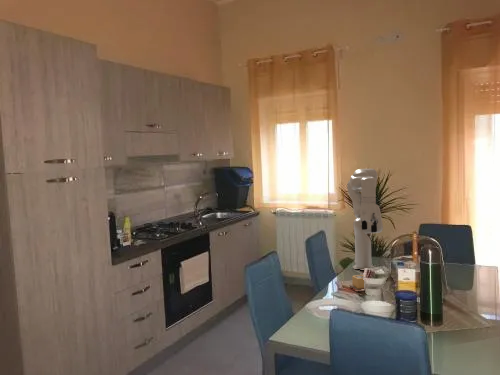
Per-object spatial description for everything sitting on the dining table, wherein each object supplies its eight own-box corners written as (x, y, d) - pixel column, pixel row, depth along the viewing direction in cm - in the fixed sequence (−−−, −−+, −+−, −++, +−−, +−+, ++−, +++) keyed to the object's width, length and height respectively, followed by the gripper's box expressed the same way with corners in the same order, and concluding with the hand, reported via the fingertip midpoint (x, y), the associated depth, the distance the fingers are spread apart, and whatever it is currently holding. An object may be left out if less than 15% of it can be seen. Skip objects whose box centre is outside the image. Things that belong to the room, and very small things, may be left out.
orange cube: (352, 285, 213) (352, 275, 212) (362, 283, 214) (362, 274, 214) (358, 288, 207) (358, 279, 206) (368, 287, 208) (368, 277, 208)
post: (356, 285, 211) (355, 276, 211) (361, 285, 212) (360, 275, 212) (358, 287, 208) (358, 278, 208) (364, 286, 209) (363, 277, 209)
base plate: (349, 287, 213) (349, 284, 213) (362, 285, 215) (362, 283, 215) (357, 292, 205) (357, 289, 205) (371, 290, 207) (371, 287, 207)
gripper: (354, 199, 227) (355, 229, 229) (371, 201, 211) (371, 234, 212) (366, 198, 229) (366, 227, 230) (383, 201, 213) (384, 232, 214)
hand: (369, 230), depth 221 cm, fingers open, 9 cm apart
